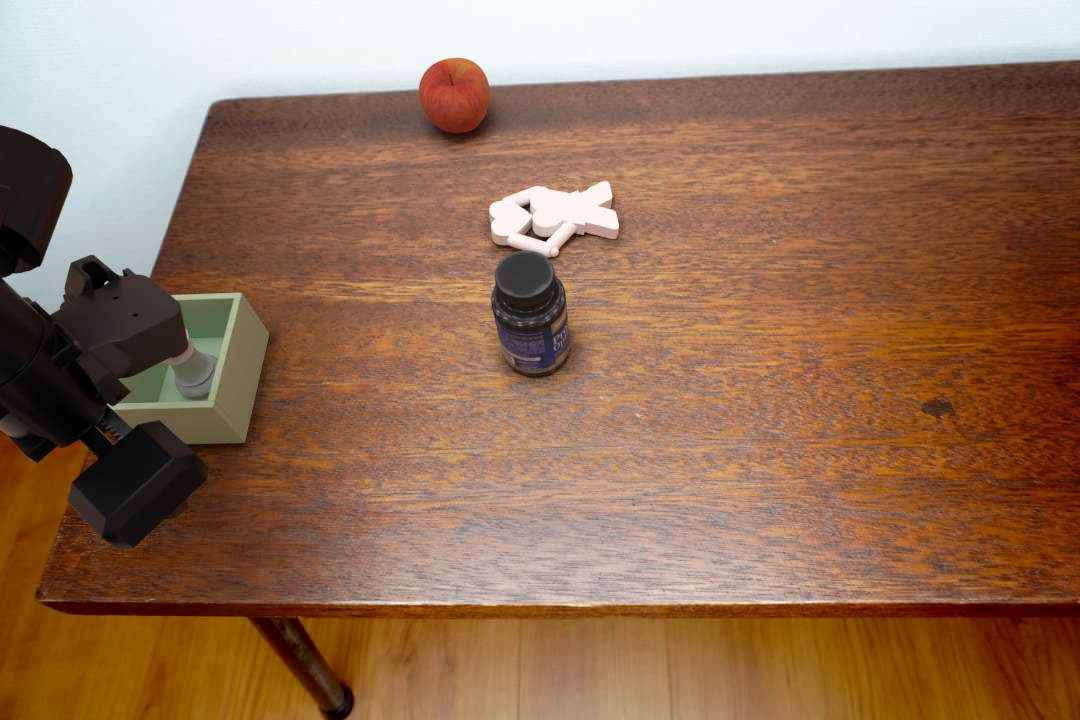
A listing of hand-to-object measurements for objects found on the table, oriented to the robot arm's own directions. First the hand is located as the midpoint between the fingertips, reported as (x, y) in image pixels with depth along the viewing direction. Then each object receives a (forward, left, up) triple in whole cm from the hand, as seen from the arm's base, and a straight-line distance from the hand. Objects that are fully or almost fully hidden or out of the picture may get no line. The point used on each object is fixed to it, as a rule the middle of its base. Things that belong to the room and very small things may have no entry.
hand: (140, 470), depth 55 cm
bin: (+8, +12, -13) cm, 19 cm away
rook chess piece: (+8, +12, -13) cm, 19 cm away
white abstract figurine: (+41, -1, -13) cm, 43 cm away
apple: (+46, +16, -13) cm, 50 cm away
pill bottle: (+29, -9, -13) cm, 33 cm away
